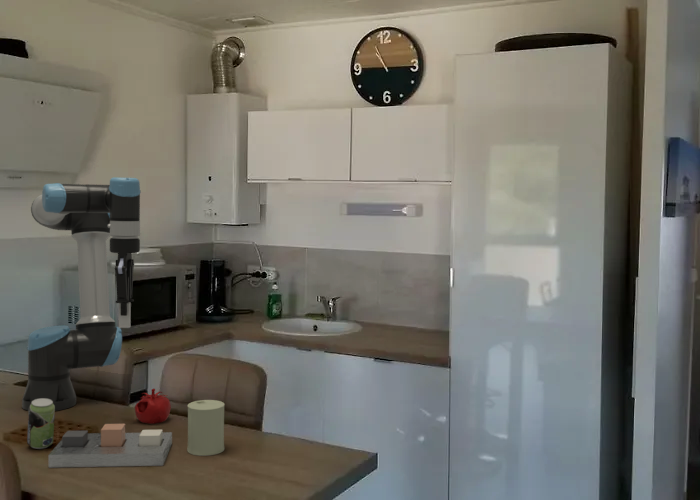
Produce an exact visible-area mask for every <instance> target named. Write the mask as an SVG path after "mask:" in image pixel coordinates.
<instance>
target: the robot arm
mask: <svg viewBox="0 0 700 500" xmlns="http://www.w3.org/2000/svg"><path fill="white" fill-rule="evenodd" d="M140 183H141V182H140V180H139V179H138V178H136V177H111V178H110V179H109V184H88V183H87V184H79V183H78V184H77V183H75V184H73V183H60V182H56V183H45V184H44V185H43V188H42V193H41V194H40V195H38V196H37V197H35V198H34V199H33V201H32V203H31V207H30V211H31V216H32V218H33V219H34V221H35V222H36V223H38V224H39V225H41V226H43V227H45V228H48V229H50V230H57V231H71V238H72V239H74V240H75V241H76V246H77V267H78V269H77V270H78V288H79V293H78V294H79V312H80V313H79V314H80V318H79V320H78V321H77V322H76V323H75V329H71V328H70V326H69V325H66V324H65V325H64V324H63V325H50V326H46V327H42V328H38V329H35V330H33V331H32V332H30V334H29V335H28V337H27V348H26V350H27V374H28V375H27V376H28V377H27V378H28V379H27V384H26V387H25V390H24V394H23V396H22V399H21V408H22V409H23V410H25V411H27V412H29V406H30V405H31V403H32V401H33V400H35V399H40V398H46V399H50V400H52V401H53V404H54V406H55V411H61V410H66V409H69V408H72V407H74V406H76V404H77V395H76V391H75V389H74V386H73V383H72V381H71V370H73V369H74V370H75V369H84V368H85V369H86V368H96V367H98V368H99V367H101V368H102V367H107V366H113V365H115V364H116V363H117V362H118V360H119V358H120V355H121V352H122V345H123V333H122V332H123V331H122V329H130V328H131V327H132V326H131V323H132V321H131V319H132V318H131V307H132V303H133V302H134V301H135V300H134V299H135V298H134V299H133V282H134V268H135V267H134V266H135V260H134V259H133V257H132V254H137V253H139V252H140V250H141V241H140V238H139V237H140V235H141V220H140V217H141V215H140V214H141V208H140V207H141V193H142V192H141V187H140ZM109 237H111V238H110V239H109ZM107 239H109V252H110V253H111V254H117V259H115V266H114V272H115V285H116V286H115V287H116V300H115V304H118V326H116V320H114V318H112V317H111V314H110V295H109V293H110V292H109V276H108V275H109V273H108V257H107ZM131 302H132V303H131Z"/></svg>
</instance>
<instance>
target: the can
mask: <svg viewBox="0 0 700 500" xmlns="http://www.w3.org/2000/svg"><path fill="white" fill-rule="evenodd" d="M225 405H226V404H225V403H224V401H223V402H222V401H221V400H216V399H203V400H202V399H201V400H200V399H199V400H195V401H192V402H189V403H188V404H187V449H186V450H187V451H186V452H187V454H188V453H189V454H190V455H193V456H200V457H205V456H206V457H207V456H215V455H218V454H221V453H222V452H224V451H225Z"/></svg>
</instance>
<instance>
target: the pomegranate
mask: <svg viewBox="0 0 700 500" xmlns="http://www.w3.org/2000/svg"><path fill="white" fill-rule="evenodd" d="M155 392H156V388H152V389H151V394H149V393H147V392H142V396H141V397H140V400H139V401H138V402H136V404H135V405H134V412H135V416H136V418H137V420H138V421H139V422H141V423H143V424H148V425H149V424H150V425H151V424H152V425H153V424H155V425H156V424H161V423H164V422H166V420H167V419H168V418H169V416H170V412H171V408H172V405H171V402H170V399H169V398H167V396H168V395H166V394H163V392H162V391H158V392H156V393H155ZM160 393H161V394H160ZM143 394H144V395H143Z"/></svg>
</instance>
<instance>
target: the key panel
mask: <svg viewBox="0 0 700 500" xmlns="http://www.w3.org/2000/svg"><path fill="white" fill-rule="evenodd" d="M140 434H141V432H125V444H124V445H123V447H101V432H94V433H93V432H91V433H88V443H87V444H86V446H85V447H62V439H61V440H60V441H58V443H57V445H56V446H55V447H54V448H53V449H52V450H51V451H50V452H49V454H48V468H49V469H51V468H91V467H92V468H94V467H96V468H97V467H98V468H99V467H101V468H102V467H105V468H106V467H107V468H108V467H153V466H155V467H158V466H159V467H162V466H164V465H165V462H166V460H167V457H168V454H169V452H170V450H171V448H172V445H173V432H171V431H169V432H167V431H166V432H165V431H164V432H163V431H162V445H161V446H139V435H140Z"/></svg>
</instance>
